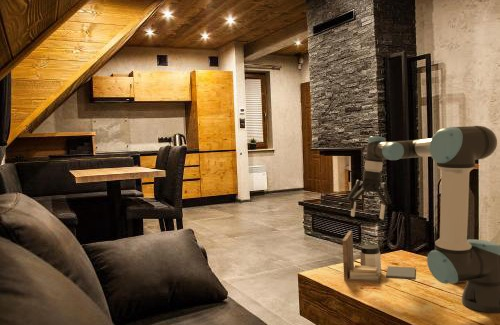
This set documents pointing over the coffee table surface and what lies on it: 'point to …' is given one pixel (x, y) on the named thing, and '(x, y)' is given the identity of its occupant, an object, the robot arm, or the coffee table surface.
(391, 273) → the rubber mat
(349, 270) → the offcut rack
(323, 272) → the coffee table surface
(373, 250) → the jar
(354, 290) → the coffee table surface
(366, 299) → the coffee table surface
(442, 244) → the robot arm
